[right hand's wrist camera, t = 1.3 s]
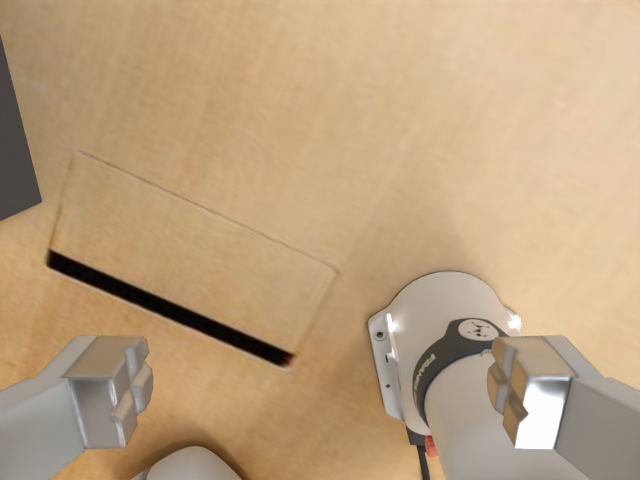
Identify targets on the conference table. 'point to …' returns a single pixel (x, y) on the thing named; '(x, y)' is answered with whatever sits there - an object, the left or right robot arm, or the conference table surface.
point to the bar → (14, 152)
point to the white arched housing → (189, 467)
